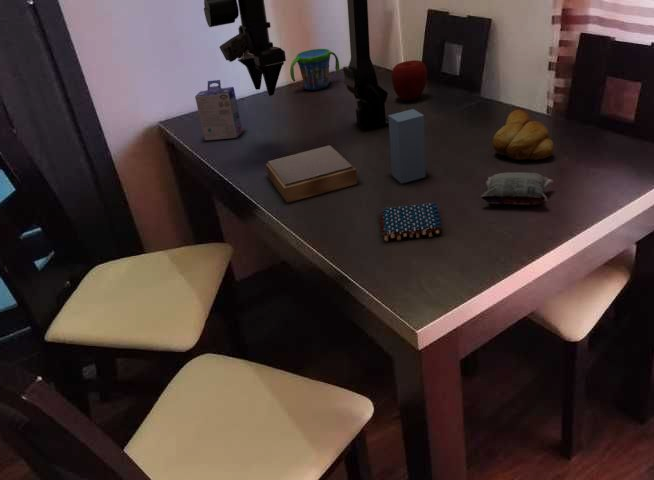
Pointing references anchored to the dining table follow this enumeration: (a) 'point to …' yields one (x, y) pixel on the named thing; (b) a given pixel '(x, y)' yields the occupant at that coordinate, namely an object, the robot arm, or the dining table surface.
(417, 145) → the packet
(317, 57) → the snack cup
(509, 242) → the dining table surface
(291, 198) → the stand
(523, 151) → the bread roll
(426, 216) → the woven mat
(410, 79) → the apple
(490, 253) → the dining table surface
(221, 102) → the ink cartridge box
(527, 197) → the packaged food
